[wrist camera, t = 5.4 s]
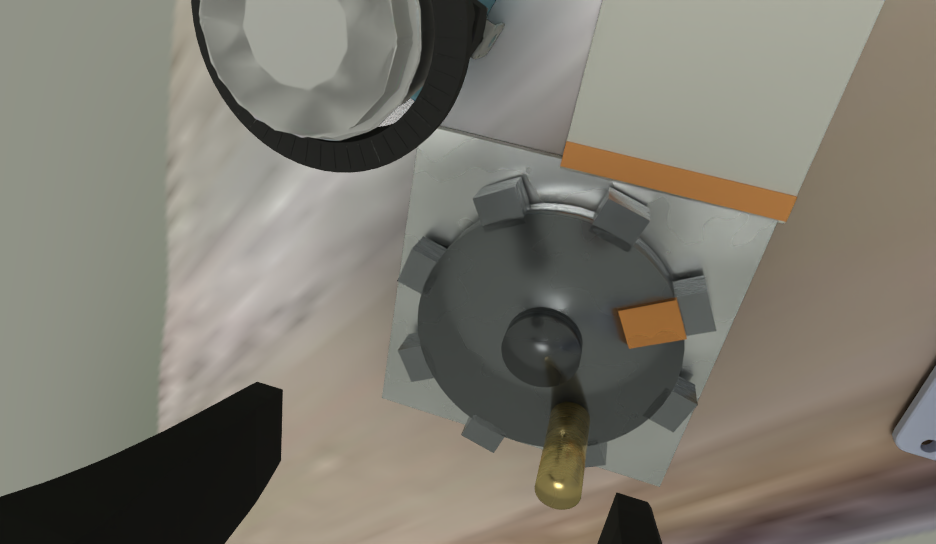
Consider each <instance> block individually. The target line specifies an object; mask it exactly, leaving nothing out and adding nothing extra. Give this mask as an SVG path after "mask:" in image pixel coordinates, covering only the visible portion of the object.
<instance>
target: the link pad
mask: <svg viewBox="0 0 936 544" xmlns="http://www.w3.org/2000/svg"><path fill="white" fill-rule="evenodd" d="M884 1H885V0H603V1H602V4H601V8H600V12H599V16H598V20H597V24H596V28H595V32H594V36H593V40H592V44H591V48H590V51H589V55H588V59H587V63H586V67H585V71H584V75H583V79H582V83H581V87H580V91H579V95H578V99H577V102H576V106H575V110H574V114H573V118H572V122H571V126H570V130H569V134H568V138H567V141H566V145H565V149H564V153H563V157H562V161H561V164H560V167H561V169H565V168H567V169H565V170H569V171H570V170H571V169H572V170H571V171H574V170H575V171H577V172H578V173H581V171H582V173H583V172H584V173H585V172H586V173H587V175H588V173H590V176H593V175H595V176H593V177H596V176H597V178H601V177H602V178H603V179H604V177H606V178H605V180H606V179H607V180H608V179H610V178H611V179H615V180H618V181H616V182H618V183H619V182H621V181H622V182H621V184H623V182H624V183H625V182H626V183H625V185H630V184H627V183H631V184H633V186H634V187H639V186H640V187H642V186H643V187H645V188H646V187H647V188H650V189H654V190H656V191H657V190H658V191H661V193H662V191H663V192H665V193H664V194H667V193H668V194H669V193H671V194H673V195H674V194H675V196H676V195H679V196H680V197H679V196H676V197H678V198H682V197H681V196H683V197H685V198H686V197H687V199H688V200H689V199H690V198H691V199H692V201H694V200H693V199H695V201H696V202H697V200H700V201H704V202H708V203H709V205H711V206H712V205H713V204H716V205H720V207H721V206H723V207H727V210H729V209H731V211H732V209H734V210H735V209H736V210H737V211H738V210H740V211H742V212H743V211H744V213H745V212H747V213H746V214H748V213H752V214H754V215H755V214H756V215H760V216H763V217H768V218H771V219H775V220H776V221H777V220H778V222H779V223H783V224H784V223H785V222H786V221H787V219H788V217H789V215H790V212H791V210H792V208H793V206H794V204H795V201H796V199H797V194H798V192H799V190H800V188H801V185H802V183H803V181H804V179H805V176H806V174H807V172H808V170H809V168H810V165H811V163H812V161H813V159H814V157H815V154H816V152H817V150H818V148H819V145H820V143H821V141H822V139H823V137H824V134H825V132H826V130H827V128H828V126H829V123H830V121H831V119H832V117H833V114H834V112H835V110H836V108H837V106H838V103H839V101H840V99H841V97H842V95H843V92H844V90H845V88H846V86H847V83H848V81H849V79H850V77H851V75H852V72H853V70H854V68H855V66H856V63H857V61H858V59H859V57H860V55H861V52H862V50H863V48H864V46H865V44H866V41H867V39H868V37H869V35H870V32H871V30H872V28H873V26H874V24H875V21H876V19H877V17H878V15H879V13H880V10H881V8H882V6H883V4H884ZM569 168H570V169H569ZM573 169H574V170H573ZM582 173H581V174H582ZM584 173H583V174H584ZM586 173H585V175H586ZM599 176H600V177H599ZM602 178H601V179H602ZM611 179H610V181H611ZM613 182H615V181H613ZM635 185H637V186H635ZM643 187H642V189H643ZM647 188H646V190H647ZM650 191H652V190H650ZM658 191H657V192H658ZM666 192H667V193H666ZM659 193H660V192H659ZM662 194H663V193H662ZM668 194H667V195H668ZM671 196H672V195H671ZM700 201H699V202H700ZM704 202H703V203H704ZM710 203H711V204H710ZM716 205H714V206H715V207H716ZM723 207H722V209H724V208H723ZM728 208H729V209H728ZM736 210H735V211H736ZM740 211H739V212H740ZM739 212H738V213H739ZM749 215H751V214H749ZM758 217H759V216H758ZM763 217H762V218H763ZM764 219H765V218H764ZM771 219H770V220H771Z"/></svg>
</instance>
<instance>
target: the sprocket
mask: <svg viewBox="0 0 936 544" xmlns="http://www.w3.org/2000/svg"><path fill="white" fill-rule="evenodd" d="M473 202H474V205H475V207H476V210H477V213H478V216H479V219H480V220H478V221H477V222H476V223H474V224H473V225H471V226H470V227H468V228H467V229H465V230H464V231H463V232H462V233H461V234H460V235H459V236H458V237H457V238H456V239H455V240H454V241H453V242H452V243H451V245H450V246H449V247H448V248H447V249H446V248H444V247H442V246H441V245H439V244H437V243H435V242H433V241H431V240H430V239H428V238H426V237H424V236H423V237H422V238H421V239H420V240H419V241H418V242H417V244H416V245H415V246H414V247H413V248H412V250H411V252H410V254H409V256H408V258H407V260H406V263H405V265H404V267H403V269H402V271H401V274H400V276H399V278H398V280H397V281H398V282H400V283H402V284H404V285H406V286H407V287H409V288H411V289H413V290H415V291H416V292H418V293H420V294H421V297H420V302H419V307H418V332H416V333H411V334H408V336H407V337H406V339H405V340H404V342H403V343H402V345H401V346H400V347H399V349H398V352H399V355H400V357H401V359H402V361H403V364H404V366H405V368H406V371H407V373H408V375H409V378H410V380H411V382H414V381H420V380H426V379H432V378H434V379H435V380H436V382H437V383H438V385H439V386H440V388H441V389H442V390H443V391H444V393H445V394H446V395H447V396H448V397H449V399H450V400H451V401H452V402H453V403H454V404H455V405H456V406H457V407H458V408H459V409H460V410H462V411H463V412H464V413H465V414H467V415H468V416H469V417H468V420H467V422H466V425H465V427H464V430H463V432H462V434H461V435H462V436H464V437H466V438H468V439H469V440H471V441H473V442H475V443H477V444H478V445H480V446H482V447H484V448H486V449H487V450H489V451H491V452H493V453H494V452H495V450H496V449H497V447H498V446H499V444H500V443H501V441H502V440H503V438H504V437H507V438H510V439H512V440H515V441H518V442H522V443H526V444H530V445H534V446H541V447H543V451H542V456H541V461H540V465H539V470H538V475H537V479H536V484H535V493H536V495H537V497H538V498H539V500H540V501H541V502H542V503H544V504H545V505H547V506H549V507H551V508H554V509H560V510H564V509H570V508H572V507H574V506H576V505H577V504H578V503H579V501H580V499H581V493H582V485H583V476H584V468H585V467H593V466H603V465H606V455H607V442H608V441H611V440H613V439H616V438H618V437H621V436H623V435H625V434H627V433H629V432H630V431H632V430H634V429H636V428H637V427H639V426H640V425H642V424H643V423H644V422H645V421H647V420H648V419H650V420H651V421H653V422H655V423H657V424H659V425H661V426H662V427H664V428H666V429H668V430H670V431H672V432H673V433H674V431H675V430H676V429H677V428H678V427H679V426H680V425H681V423H682V422H683V421H684V420H685V419H686V418H687V417H688V415H689V414H690V413H691V412H692V411H693V410H694V409H695V407H696V406H697V405H698V403H697V396H696V389H695V384H693V383H692V382H690V381H688V380H686V379H684V378H682V377H681V376H679V374H680V371H681V368H682V364H683V357H684V350H685V339H687V336H690V335H696V334H702V333H708V332H714V331H716V326H715V321H714V317H713V312H712V308H711V304H710V300H709V295H708V291H707V287H706V283H705V278H704V275H701V276H696V277H691V278H686V279H681V280H676V281H672V279H671V277H670V275H669V273H668V271H667V269H666V268H665V266H664V265H663V263H662V262H661V260H660V259H659V258H658V256H657V255H656V254H655V253H654V252H653V251H652V249H651V248H650V247H649V246H648V245H647V244H646V243H645V242H644V241H643V240H642V239H640V238H639V237H640V235H641V234H642V232H643V231H644V229H645V228H646V226H647V225H648V223H649V222H650V208H649V207H647V206H645V205H643V204H641V203H639V202H638V201H636V200H634V199H632V198H630V197H628V196H626V195H625V194H623V193H621V192H619V191H617V190H615V189H613V188H611V187H610V188H609V190H608V191H607V193H606V194H605V196H604V198H603V199H602V201H601V202H600V204H599V206H598V207H597V209H596V211H595V212H593V211H590V210H587V209H584V208H581V207H575V206H570V205H565V204H553V203H537V204H530V203H529V200H528V197H527V193H526V190H525V187H524V184H523V181H522V178H521V177H518V178H514V179H510V180H507V181H503V182H500V183H496V184H493V185H489V186H486V187H482V188H481V189H480V190H479V191H478V192H477V194H476V195H475V196H474V197H473Z"/></svg>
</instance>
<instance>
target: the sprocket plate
mask: <svg viewBox="0 0 936 544" xmlns="http://www.w3.org/2000/svg"><path fill="white" fill-rule="evenodd" d="M562 157H563V156H560V155H556V154H552V153H548V152H544V151H540V150H536V149H532V148H528V147H524V146H519V145H515V144H511V143H507V142H503V141H499V140H495V139H491V138H487V137H483V136H479V135H474V134H470V133H466V132H462V131H458V130H454V129H450V128H446V127H442V126H439V127H438V128H437V129H436V130H435V131H434V132H433V134H432V135H431V136H430V137H429V138H428V139H426V140H425V141H424V142H423V143H422V144H420V145H419V146H418V147H417V153H416V160H415V167H414V174H413V181H412V188H411V196H410V203H409V210H408V217H407V224H406V231H405V238H404V245H403V252H402V259H401V267H400V274H401V271H402V269H403V267H404V265H405V263H406V260H407V258H408V256H409V254H410V252H411V250H412V248H413V247H414V246H415V245H416V244H417V242H418V241H419V240H420V239H421V238H422V237H423V236H424V237H426V238H428V239H430V240H431V241H433V242H435V243H437V244H439V245H441V246H442V247H444V248H446V249H447V248H448V247H449V246H450V245H451V243H452V242H453V241H454V240H455V239H456V238H457V237H458V236H459V235H460V234H461V233H462V232H463V231H464V230H465V229H467V228H468V227H470V226H471V225H473V224H474V223H476V222H477V221H478V220H480V219H479V216H478V213H477V210H476V207H475V205H474V202H473V197H474V196H475V195H476V194H477V192H478V191H479V190H480V189H481V188H482V187H486V186H489V185H493V184H496V183H500V182H503V181H507V180H510V179H514V178H518V177H521V178H522V181H523V184H524V187H525V190H526V193H527V197H528V200H529V203H530V204H537V203H553V204H565V205H570V206H575V207H581V208H584V209H587V210H590V211H593V212H595V211H596V209H597V207H598V206H599V204H600V202H601V201H602V199H603V198H604V196H605V194H606V193H607V191H608V190H609V188H610V187H611V188H613V189H615V190H617V191H619V192H621V193H623V194H625V195H626V196H628V197H630V198H632V199H634V200H636V201H638V202H639V203H641V204H643V205H645V206H647V207H649V208H650V222H649V223H648V225H647V226H646V228H645V229H644V231H643V232H642V234H641V235H640V237H639V238H640V239H642V240H643V241H644V242H645V243H646V244H647V245H648V246H649V247H650V248H651V249H652V251H653V252H654V253H655V254H656V255H657V256H658V258H659V259H660V260H661V262H662V263H663V265H664V266H665V268H666V269H667V271H668V273H669V275H670V277H671V279H672V281H676V280H681V279H686V278H691V277H696V276H701V275H704V278H705V283H706V287H707V291H708V295H709V300H710V304H711V308H712V312H713V317H714V321H715V326H716V331H714V332H708V333H702V334H696V335H690V336H687V339H685V350H684V357H683V364H682V368H681V371H680V374H679V376H681V377H682V378H684V379H686V380H688V381H690V382H692V383H693V384H695V389H696V396H697V402H698V399H699V397H700V395H701V393H702V390H703V388H704V386H705V384H706V381H707V379H708V377H709V375H710V372H711V370H712V368H713V366H714V363H715V361H716V359H717V357H718V354H719V352H720V350H721V348H722V345H723V343H724V341H725V339H726V336H727V334H728V332H729V330H730V327H731V325H732V323H733V321H734V318H735V316H736V314H737V312H738V309H739V307H740V305H741V303H742V300H743V298H744V296H745V294H746V291H747V289H748V287H749V285H750V282H751V280H752V278H753V276H754V274H755V271H756V269H757V267H758V265H759V262H760V260H761V258H762V256H763V253H764V251H765V249H766V247H767V244H768V242H769V240H770V238H771V235H772V233H773V231H774V229H775V226H776V224H777V222H778V220H777V221H776V220H775V219H771V218H768V217H763V216H760V215H756V214H755V215H754V214H752V213H748V214H746V213H747V212H745V213H744V211H743V212H742V211H740V210H738V211H737V210H736V209H735V210H736V211H735V210H734V209H732V211H731V209H729V208H728V209H729V210H727V207H723V206H721V207H720V205H716V204H713V205H712V206H711V205H709V203H708V202H704V201H700V200H697V202H696V201H695V199H693V200H694V201H692V199H691V198H690V199H689V200H688V199H687V197H686V198H685V197H683V196H681V197H682V198H678V197H676V196H679V195H676V196H675V194H674V195H673V194H671V193H669V194H668V193H667V192H666V193H667V194H668V195H667V194H664V193H665V192H663V191H662V193H663V194H662V193H661V191H658V190H657V191H658V192H657V191H656V190H654V189H650V188H647V187H646V188H647V190H646V188H645V187H643V186H642V187H643V189H642V187H640V186H639V187H634V186H633V184H631V183H627V184H630V185H625V183H626V182H625V183H624V182H623V184H621V182H622V181H621V182H619V183H618V182H616V181H618V180H615V179H611V178H610V179H611V181H610V179H608V180H607V179H606V180H605V178H606V177H604V179H603V178H602V177H601V178H602V179H601V178H597V176H596V177H593V176H595V175H593V176H590V173H588V175H587V173H586V172H585V173H586V175H585V173H584V172H583V173H584V174H583V173H582V171H581V173H582V174H581V173H578V172H577V171H575V170H574V169H573V170H574V171H571V170H572V169H571V170H570V171H569V170H565V169H567V168H565V169H561V167H560V164H561V161H562ZM569 169H570V168H569ZM599 177H600V176H599ZM613 181H615V182H613ZM635 186H637V185H635ZM650 190H652V191H650ZM659 192H660V193H659ZM671 195H672V196H671ZM679 197H680V196H679ZM699 201H700V202H699ZM703 202H704V203H703ZM710 204H711V203H710ZM714 205H716V207H715V206H714ZM722 207H723V208H724V209H722ZM739 211H740V212H739ZM738 212H739V213H738ZM749 214H751V215H749ZM758 216H759V217H758ZM762 217H763V218H762ZM764 218H765V219H764ZM770 219H771V220H770ZM400 274H399V276H400ZM420 297H421V294H420V293H418V292H416V291H415V290H413V289H411V288H409V287H407V286H406V285H404V284H402V283H400V282H398V288H397V295H396V302H395V309H394V316H393V323H392V331H391V338H390V345H389V352H388V359H387V366H386V373H385V380H384V387H383V394H382V398H384V399H387V400H390V401H393V402H396V403H399V404H403V405H406V406H409V407H412V408H415V409H418V410H421V411H424V412H428V413H431V414H434V415H437V416H440V417H443V418H446V419H449V420H453V421H456V422H459V423H462V424H465V425H466V422H467V420H468V417H469V416H468V415H467V414H465V413H464V412H463V411H462V410H460V409H459V408H458V407H457V406H456V405H455V404H454V403H453V402H452V401H451V400H450V399H449V397H448V396H447V395H446V394H445V393H444V391H443V390H442V389H441V388H440V386H439V385H438V383H437V382H436V380H435V379H434V378H432V379H426V380H420V381H414V382H411V380H410V378H409V375H408V373H407V371H406V368H405V366H404V364H403V361H402V359H401V357H400V355H399V352H398V349H399V347H400V346H401V345H402V343H403V342H404V340H405V339H406V337H407V336H408V334H411V333H416V332H418V307H419V302H420ZM693 411H694V410H693ZM693 411H692V412H691V413H690V414H689V415H688V417H687V418H686V419H685V420H684V421H683V422H682V423H681V425H680V426H679V427H678V428H677V429H676V430H675V431H674V433H673V432H672V431H670V430H668V429H666V428H664V427H662V426H661V425H659V424H657V423H655V422H653V421H651V420H650V419H648V420H647V421H645V422H644V423H643V424H642V425H640V426H639V427H637V428H636V429H634V430H632V431H630V432H629V433H627V434H625V435H623V436H621V437H618V438H616V439H613V440H611V441H608V442H607V455H606V465H603V466H596V467H599V468H603V469H606V470H609V471H612V472H615V473H618V474H621V475H624V476H628V477H631V478H634V479H637V480H640V481H643V482H646V483H649V484H653V485H656V486H659V487H660V485H661V482H662V480H663V478H664V476H665V473H666V471H667V469H668V467H669V464H670V462H671V460H672V458H673V455H674V453H675V451H676V449H677V446H678V444H679V442H680V440H681V437H682V435H683V433H684V431H685V428H686V426H687V424H688V422H689V420H690V417H691V415H692V413H693ZM506 438H507V437H506ZM509 439H510V438H509ZM521 443H522V442H521ZM524 444H526V443H524ZM528 445H530V444H528ZM531 446H534V445H531ZM534 447H537V448H540V449H543V447H541V446H534Z"/></svg>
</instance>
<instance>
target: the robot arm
mask: <svg viewBox="0 0 936 544" xmlns="http://www.w3.org/2000/svg"><path fill="white" fill-rule="evenodd" d="M282 396H283V390H282V389H279V388H276V387H272V386H269V385H266V384H263V383H259V382H256V383H254V384H252V385H250V386H248V387H246V388H244V389H242V390H240V391H239V392H237V393H235V394H233V395H231V396H229V397H227V398H226V399H224V400H222V401H220V402H218V403H216V404H214V405H213V406H211V407H209V408H207V409H205V410H203V411H201V412H200V413H198V414H196V415H194V416H192V417H190V418H188V419H186V420H184V421H182V422H180V423H179V424H177V425H175V426H173V427H171V428H169V429H167V430H165V431H163V432H161V433H159V434H157V435H155V436H153V437H150V438H148V439H146V440H144V441H142V442H140V443H138V444H136V445H133V446H131V447H129V448H127V449H125V450H123V451H121V452H119V453H116V454H114V455H112V456H110V457H108V458H105V459H103V460H101V461H98V462H96V463H93V464H91V465H88V466H86V467H84V468H81V469H78V470H76V471H73V472H71V473H68V474H66V475H63V476H60V477H58V478H55V479H52V480H50V481H47V482H44V483H41V484H38V485H35V486H32V487H29V488H26V489H23V490H20V491H17V492H14V493H11V494H8V495H4V496H1V497H0V544H225V542H226V541H227V540H228V538H229V537H230V536H231V535H232V533H233V532H234V531H235V529H236V528H237V527H238V525H239V524H240V523H241V522H242V520H243V519H244V518H245V516H246V515H247V514H248V512H249V511H250V510H251V508H252V507H253V506H254V504H255V503H256V502H257V500H258V498H259V497H260V495H261V493H262V492H263V490H264V489H265V487H266V485H267V484H268V482H269V480H270V479H271V477H272V475H273V473H274V472H275V470H276V468H277V467H278V465H279V463H280V461H281V438H282ZM892 437H893V440H894V442H895V444H896V445H897V446H898V448H899V449H901V450H903V451H905V452H908V453H911V454H915V455H918V456H922V457H925V458H928V459H932V460H935V461H936V366H935V367H934V369H933V371H932V372H931V374H930V375H929V377H928V378H927V380H926V381H925V383H924V384H923V386H922V387H921V389H920V390H919V392H918V394H917V395H916V397H915V398H914V400H913V401H912V403H911V404H910V406H909V407H908V409H907V410H906V412H905V413H904V415H903V417H902V418H901V420H900V421H899V423H898V424H897V426H896V427H895V429H894V431H893V433H892ZM926 440H933V441H932V442H931V443H930V444H926V445H922V444H921V443H922V442H924V441H926ZM598 544H662V541H661V538H660V535H659V532H658V529H657V525H656V522H655V519H654V515H653V512H652V508H651V507H650V505H649V503H648V502H646V501H642V500H639V499H636V498H633V497H629V496H626V495H623V494H620V493H616V495H615V498H614V501H613V503H612V506H611V509H610V511H609V514H608V517H607V519H606V522H605V525H604V527H603V530H602V533H601V536H600V538H599V541H598Z"/></svg>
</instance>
